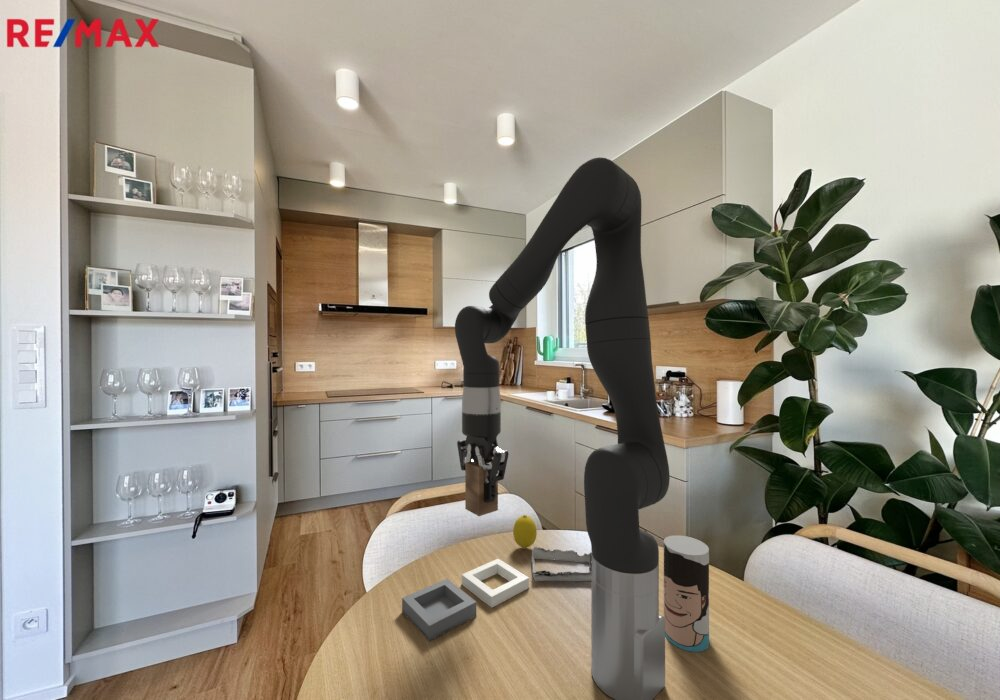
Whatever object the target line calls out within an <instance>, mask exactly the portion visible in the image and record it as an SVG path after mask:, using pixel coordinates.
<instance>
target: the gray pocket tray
mask: <svg viewBox="0 0 1000 700" xmlns="http://www.w3.org/2000/svg"><path fill="white" fill-rule="evenodd" d="M401 613H402V614H404V616H405V617H406V618H407V619H408V620H409V621H410V622H411V623H412V624H413V626H414V627H415V628H416V629H417V630H418V631H419V632H420V633H421V634H422V636H423V637H424V638H426V640H427V641H428V642H431V641H433V640H435V639H436V638H438V637H440V636H443V635H444V634H446V633H447V632H449V631H451V630H453V629H455V628H457V627H459V626H461V625H462V624H463V625H464V624H465V623H466V622H468V621H470V620H472V619H473V618H475V617H477V601H476V600H475V599H473V597H471V596H470V595H468V593H466V592H465V591H464V590H462V589H460V587H458V585H456V584H455V583H454V582H452V581H451V580H450V579H448V578H444V579H443V580H441V581H439V582H436V583H433V584H431V585H429V586H427V587H424V588H422V589H419V590H418V591H415V592H413V593H411V594H408V595H405V596H404V597H402V598H401Z"/></svg>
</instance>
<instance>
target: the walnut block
mask: <svg viewBox="0 0 1000 700" xmlns="http://www.w3.org/2000/svg"><path fill="white" fill-rule="evenodd" d="M485 465H486V466H487V465H491V462H490V463H486V464H485ZM464 471H465V477H464V480H465V484H464V485H465V487H464V490H465V491H464V493H465V496H464V497H465V498H464V499H465V507H464V508H465V510H466V511H468V512H471V513H472V514H474V515H476V516H478V517H481V516H484V515H488V514H490V513H493V512H497V511H498V510H499V481H496V497H495V500H494V501H493V502H489V503H486V502H484V483H485V482H484V478H483V471H482V470H481V467H479V463H478V462H474V461H473V462H471V463H468V462H467V463H466V462H465V470H464ZM490 473H491V469H489V470H488V474H489V476H490ZM498 473H499V471H498V472H497V474H498Z"/></svg>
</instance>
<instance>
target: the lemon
mask: <svg viewBox="0 0 1000 700" xmlns="http://www.w3.org/2000/svg"><path fill="white" fill-rule="evenodd" d="M512 528H513V530H512V531H513V534H512V535H513V539H514V541H515V543H516V545H518V546H519V547H521V548H523V550H527V548H530V547H531V546H533V545H534V543H535V541H536V539H537V535H538V534H537V525H536V522H535V520H533V518H532V517H530V516H528V515H526V514H523V515H521V516H519V517H518V518H517V519H516V520H515V522H514V525H513V527H512Z"/></svg>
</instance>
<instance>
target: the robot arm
mask: <svg viewBox="0 0 1000 700" xmlns="http://www.w3.org/2000/svg"><path fill="white" fill-rule="evenodd" d="M586 226H588V227H590V228H591V230H592V231H591V232H592V234H593V240H594V245H595V246H594V248H595V257H596V269H595V275H594V278H593V281H592V285H591V288H590V290H589V294H588V298H587V301H586V306H585V313H584V321H585V322H584V325H585V326H584V328H585V339H586V350H587V355H588V359H589V363H590V365H591V366H592V369H593V371H594V372H595V375H596V377H597V378H598V380H599V381H600V384H601V385H602V387H603V388H604V391H605V392H606V393H607V395H608V398H609V399H610V402H611V404H612V407H613V410H614V415H615V421H616V422H615V423H616V431H617V443H616V444H613V445H606V446H603V447H599V448H596V449H595V450H593V451H592V452H591V453H590V454H589V456H588V457H587V460H586V462H585V466H584V472H583V473H584V474H583V486H584V487H583V488H584V489H583V491H584V507H585V509H584V510H585V511H584V512H585V526H586V527H585V528H586V531H587V534H588V538H589V541H590V544H591V545H590V546H591V547H590V548H591V551H590V552H591V553H592V561H591V563H592V580H591V598H590V599H591V605H590V607H591V610H590V611H591V619H590V620H591V621H590V622H591V625H590V626H591V632H590V633H591V634H590V635H591V637H590V639H591V641H590V644H591V645H590V646H591V647H590V648H591V652H590V654H591V657H590V658H591V665H590V666H591V675H592V678H593V682H595V684H596V685H597V687H598V688H599V689H600V690H601V691H602V692H603V693H605V694H606V695H607V696H608V697H610V698H612V699H613V700H654V699H655V697H656V696H658V695H659V693H660V692H661V690H662V689H663V688H664V687H665V686H666V636H665V618H664V615H663V616H662V615H661V614H659V611H660V610H659V609H660V608H659V606H660V605H659V604H660V603H659V601H660V598H659V597H660V596H659V595H660V592H659V591H660V590H659V587H660V583H659V582H660V579H659V578H660V569H659V567H660V566H659V565H660V564H659V563H660V555H659V552H660V551H659V550H660V549H659V544H658V541H657V539H656V538H655V537H654V536H653V535H652V534H651V533H649V532H648V531H646V530H644V529H641V528H640V518H639V517H640V515H639V514H640V513H639V512H640V511H639V510H642V509H645V508H647V507H650V506H653V505H656V504H657V503H659V502H660V501H661V500H663V499H664V497H666V494H667V492H668V491H669V487H670V475H671V474H670V465H669V460H668V455H667V450H666V449H667V448H666V446H665V441H664V435H663V432H662V426H661V421H660V415H659V410H658V402H657V394H656V386H655V383H656V382H655V375H654V369H653V360H652V359H653V358H652V356H653V355H652V342H651V341H652V340H651V332H650V331H651V330H650V320H649V319H650V318H649V312H648V305H647V297H646V296H647V295H646V286H645V285H646V284H645V276H644V270H643V269H644V267H643V262H642V246H641V245H642V243H641V242H642V195H641V191H640V188H639V185H638V183H637V182H636V180H635V179H634V178H633V177H632V175H630V174H629V173H628V172H626V171H625V170H624V169H623V168H621V167H620V166H619V165H618V164H617V163H616V162H614V161H613V160H611V159H609V158H606V157H594V158H590V159H589V160H587V161H584V163H582V164H581V165H579V166H578V167H577V168H576V170H575V171H574V172H573V173H572V174H571V176H570V177H569V178H568V180H567V181H566V182H565V184H564V186H563V187H562V188H561V191H560V192H559V194H558V195H557V197H556V198H555V200H554V202H553V204H552V205H551V206H550V209H549V210H548V211H547V212H546V214H545V216H544V217H543V219H542V220H541V222H540V224H539V225H538V227H537V228H536V230H535V232H534V233H533V235H532V237H531V238H530V239H529V241H528V242H527V244H526V245H525V246H524V248H523V249H522V251H521V252H520V253H519V254H518V255H517V257H516V258H515V259H514V260H513V262H512V263H511V264H510V265H509V266H508V267H507V268H506V270H505V271H503V273H502V274H501V275H500V276H499V277H498V279H496V281H495V282H494V283H493V285H492V286H491V287H490V289H489V291H488V297H489V301H490V303H491V305H490V306H489V307H483V306H475V305H467V306H465V307H463V308H461V310H459V312H458V313H457V316H456V319H455V322H454V333H455V338H456V342H457V347H458V350H459V354H460V358H461V362H462V366H463V373H462V374H463V376H462V377H463V378H462V379H463V382H462V383H463V384H462V385H463V389H462V395H461V432H462V435H464V436H465V439H460V440H457V442H456V444H457V451H458V458H459V464H460V470H461V471H463V472H464V471H465V463H467V462H468V463H471V462H473V461H474V462H478V463H479V467H481V470H482V471H483V478H484V482H485V483H484V502H486V503H489V502H493V501H494V500H495V497H496V481H498V482H499V481H503V480H504V479H505V473H506V469H507V464H508V458H509V451H508V450H507V449H504V450H502V449H501V448H499V444H498V440H497V437H498V435H500V434H501V433H502V432H501V431H502V429H501V427H502V426H501V425H502V423H501V421H502V419H501V417H502V416H501V414H502V412H501V411H502V409H501V408H502V407H501V406H502V404H501V403H502V402H501V400H502V399H501V391H500V362H499V360H498V358H497V357H495V356H492V355H489V354H488V351H487V348H486V344H494V343H497V342H499V341H501V340H502V339H504V338H505V337H506V336H507V335H508V333H509V332H510V330H511V329H512V327H513V325H514V324H515V323H516V320H517V318H518V316H519V315H520V312H522V310H523V309H524V308H525V307H526V306H528V305H529V303H531V301H532V300H534V299H535V298H536V296H537V295H538V294H539V293H540V292H541V291H542V289H544V287H545V286H546V284H547V282H548V281H549V278H550V276H551V274H552V272H553V270H554V267H555V264H556V262H557V259H558V257H559V255H560V254H561V252H562V250H563V249H564V248H565V246H566V245H567V243H569V241H570V240H571V239H573V237H574V236H575V235H576V234H578V233H579V232H580V231H581V230H583V228H584V227H586ZM490 462H491V465H487V466H486V465H485V464H486V463H490ZM489 469H491V473H490V476H489V474H488V470H489ZM497 472H498V474H497Z"/></svg>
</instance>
